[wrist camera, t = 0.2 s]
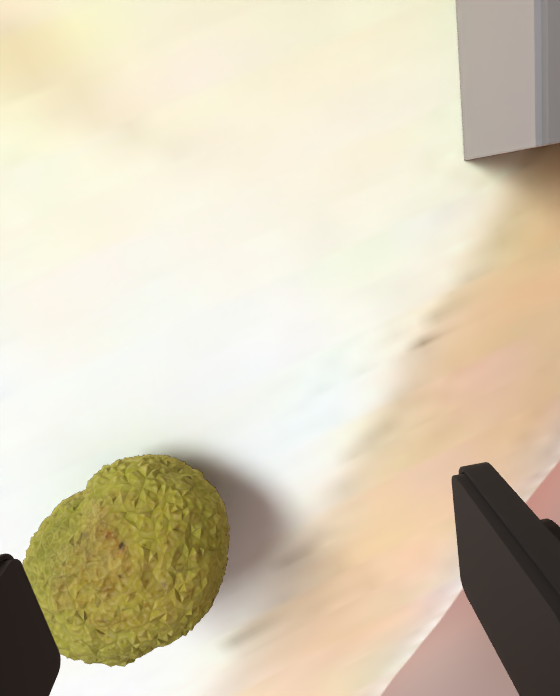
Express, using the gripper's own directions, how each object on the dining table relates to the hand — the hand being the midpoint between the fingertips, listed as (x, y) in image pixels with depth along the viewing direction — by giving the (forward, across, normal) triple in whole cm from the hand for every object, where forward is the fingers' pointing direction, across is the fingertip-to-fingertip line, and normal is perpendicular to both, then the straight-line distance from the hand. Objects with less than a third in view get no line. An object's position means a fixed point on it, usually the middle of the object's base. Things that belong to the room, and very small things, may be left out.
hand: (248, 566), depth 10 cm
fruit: (+31, +14, +18) cm, 38 cm away
